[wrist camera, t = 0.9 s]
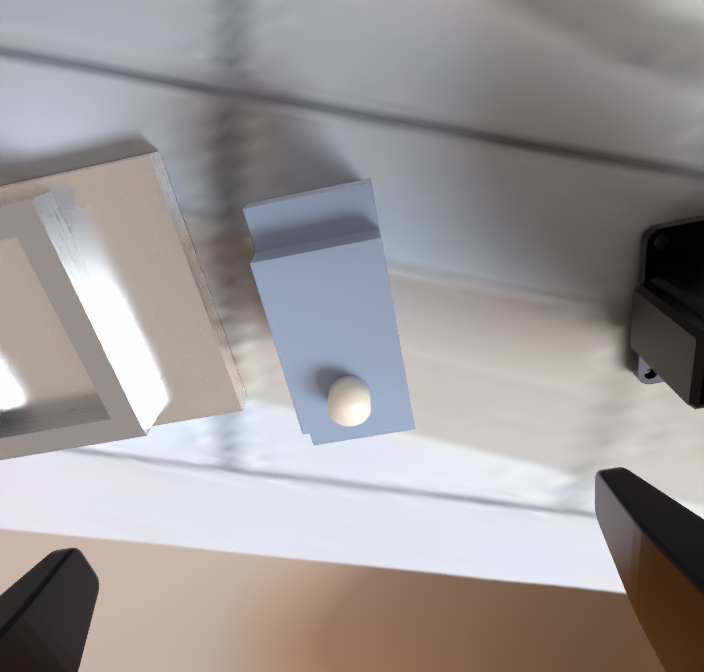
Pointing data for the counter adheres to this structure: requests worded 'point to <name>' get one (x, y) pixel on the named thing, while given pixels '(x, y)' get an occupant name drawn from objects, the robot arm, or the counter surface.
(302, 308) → the block
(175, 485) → the counter surface
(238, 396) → the mount plate
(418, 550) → the counter surface
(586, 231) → the counter surface
